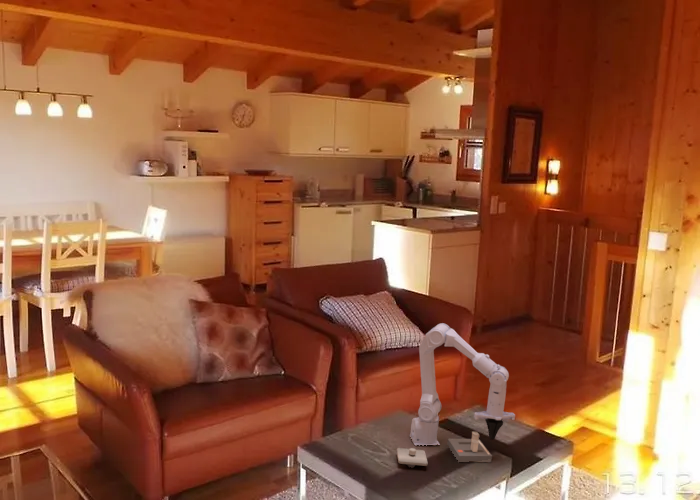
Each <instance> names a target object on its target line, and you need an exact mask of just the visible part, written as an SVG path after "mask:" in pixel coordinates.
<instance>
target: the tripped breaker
mask: <svg viewBox="0 0 700 500" xmlns="http://www.w3.org/2000/svg"><path fill="white" fill-rule="evenodd" d="M470 439H471V450H472V451H473V452H477V450H478V444H479V442H478V441H477V440H476V439H472V438H470Z"/></svg>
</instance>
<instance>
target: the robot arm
mask: <svg viewBox="0 0 700 500" xmlns="http://www.w3.org/2000/svg"><path fill="white" fill-rule="evenodd" d="M443 344H444V347H453V348H455V349H457V350H458V351H459V352H460V353H462V355H464V356H466V357H467V358H468V359H470V360H471V361H472V366H473V368H475V369H476V370H478V371H479V372H480V373H481V374H482V375H483V376H485V377H486V378H487V379H488V381H489V383H490V385H489V390H488V397H487V406H486V410H483V411H476V412H473V419H474V420H475V421H478V420H484V421H485V423H486V425H487V426H486V427H487V431H488V437H489V439H490V440H495V439H496V438H497V437H496V436H497V434H498V432H499V431H500V429H501V427H502V426H503V425H504V421H503V420H511V421H515V418H516V414H515V413H514V412H510V411H509V412H507V411H504V409H505V402H506V396H507V395H506V394H507V381H508V380H509V377H510V374H509V371H508V370H507V368H506V367H505V366H502V365H501V364H499V363H498V364H497V363H496V362H495V361H494V360H492V359H491V358H490V355H489V354H488V353H486V354H485V353H484V352H477V350H475V349H474V348H473V347H472V346H471V345H470V344H469V343H468V342H467V341H465V340H464V338H463V337H462V336H460V335H459V334H458V333H457V332H456V331H455V329H454V328H451V327H450V326H449V325H448V324H446V323H443V322H442V323H438V324H437V325H435V326H434V327H432V328H431V329H430V330H428V332H426V333H425V335H424V337H423V339H422V340H421V342H420V344H419V346H418V352H419V366H420V379H421V380H420V382H421V398H420V400H419V405H420V406H419V408H418V410H417V412H418V413H417V414H418V416H417V417H413V418H412V419H411V425H410V434H409V437H411V438H410V440H411V439H412V440H411V441H412V443H413V445H414V446H415V447H419V446H420V445H422V446H424V445H426V446H427V445H437V444H438V445H441V444H440V442H439V441H438V437H437V436H438V431H439V421H440V417H439V415H438V414H439V413H440V411H441V410H442V403H441V401H440V398H439V394H438V392H437V384H436V383H437V382H436V368H435V366H436V365H435V354H434V353H435V351H434V350H435V349H436V348H438V347H440V346H442V345H443ZM417 445H419V446H417ZM422 446H421V447H422ZM426 446H425V447H426ZM427 447H428V446H427Z"/></svg>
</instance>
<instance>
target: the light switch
mask: <svg viewBox="0 0 700 500" xmlns="http://www.w3.org/2000/svg"><path fill="white" fill-rule="evenodd" d="M396 455H397V460H398V461H397V462H398V464H402V465H406V466H408V468H410V467H411V469H413V468H414V467H415V466H424V467H427V466H428V458H427V454H426V452H425V450H424V449H416V448H415V447H410V448H402V447H397V448H396Z"/></svg>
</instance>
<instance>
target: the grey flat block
mask: <svg viewBox="0 0 700 500" xmlns="http://www.w3.org/2000/svg"><path fill="white" fill-rule="evenodd" d="M471 439H472V438H447V441H446V446H447V445H448V446H449V447H448V446H447V447H448V449H449V448H450V449H449V450H450V452H451V451H452V452H451V454H452V455H453V454H454V455H453V456H454V458H455V457H456V458H455V460H456V461H457V460H458V461H457V463H459V462H469V461H482V460H488V459H493V455H492V454H491V452H490V451H489V449H487V447H486V446H485V445H484V443H483V442H482V441H481V440H480V439H478V442H479V444H478V450H477V452H473V451H472V450H471Z"/></svg>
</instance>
